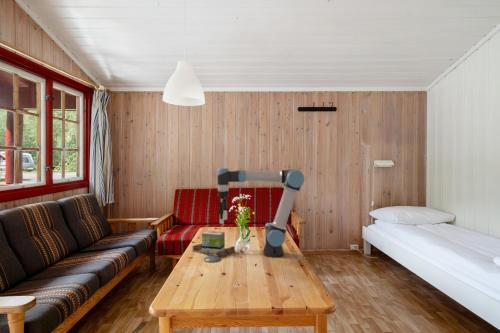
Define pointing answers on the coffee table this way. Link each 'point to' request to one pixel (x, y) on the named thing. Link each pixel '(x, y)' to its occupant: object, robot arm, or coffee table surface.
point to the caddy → (218, 254)
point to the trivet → (212, 259)
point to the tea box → (213, 241)
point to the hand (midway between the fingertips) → (223, 221)
